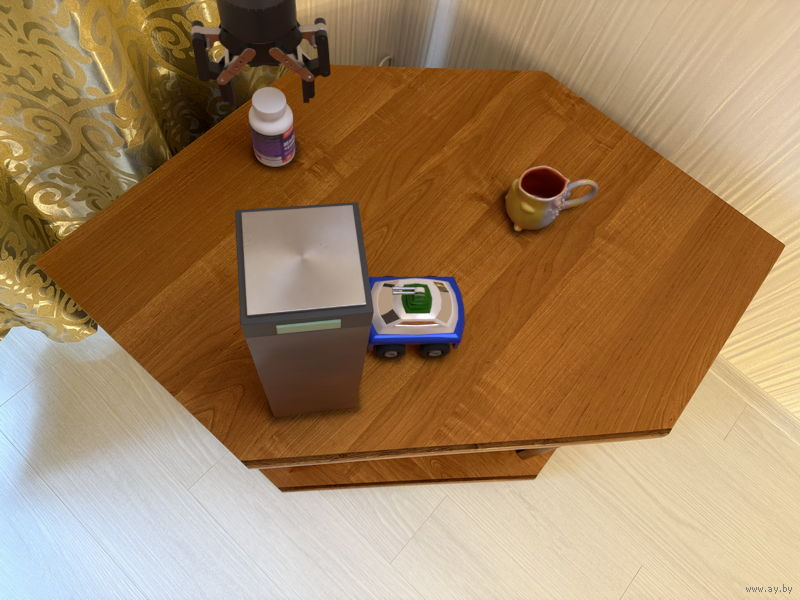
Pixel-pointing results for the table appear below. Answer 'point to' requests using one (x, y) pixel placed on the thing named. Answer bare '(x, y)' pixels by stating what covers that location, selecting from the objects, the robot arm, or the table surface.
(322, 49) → the robot arm
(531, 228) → the mug
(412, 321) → the toy car
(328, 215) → the tall grey box
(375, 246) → the table surface
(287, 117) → the pill bottle
